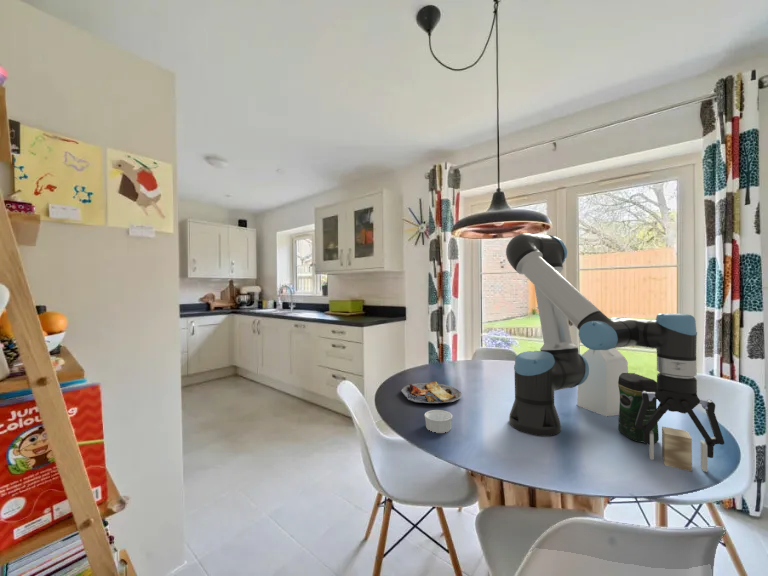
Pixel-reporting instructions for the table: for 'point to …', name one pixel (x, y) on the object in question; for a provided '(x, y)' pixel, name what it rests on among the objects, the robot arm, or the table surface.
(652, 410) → the coffee jar
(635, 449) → the table surface
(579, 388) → the milk
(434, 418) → the ramekin
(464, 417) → the table surface
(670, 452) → the beech block
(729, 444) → the table surface
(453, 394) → the food plate
